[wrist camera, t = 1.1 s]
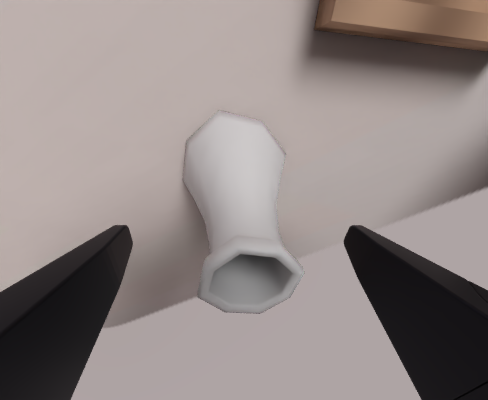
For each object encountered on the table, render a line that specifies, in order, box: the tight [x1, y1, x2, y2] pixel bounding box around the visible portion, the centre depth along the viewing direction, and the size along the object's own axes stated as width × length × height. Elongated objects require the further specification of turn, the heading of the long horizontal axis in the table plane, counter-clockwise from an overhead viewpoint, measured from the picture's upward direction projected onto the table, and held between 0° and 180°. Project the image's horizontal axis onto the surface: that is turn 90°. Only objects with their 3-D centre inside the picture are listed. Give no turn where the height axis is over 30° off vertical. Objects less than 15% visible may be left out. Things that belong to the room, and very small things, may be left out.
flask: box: [183, 110, 304, 314], centre depth 10 cm, size 7×7×10 cm
